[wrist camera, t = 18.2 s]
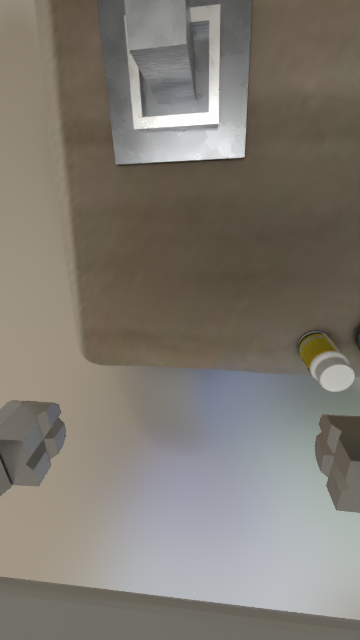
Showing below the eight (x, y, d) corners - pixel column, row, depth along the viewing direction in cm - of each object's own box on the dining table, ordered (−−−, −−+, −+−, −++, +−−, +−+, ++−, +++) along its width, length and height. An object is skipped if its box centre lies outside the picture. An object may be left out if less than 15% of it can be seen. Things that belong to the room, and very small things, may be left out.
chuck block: (252, -24, 26) (256, -49, 23) (243, 158, 32) (246, 155, 29) (100, -4, 28) (87, -26, 25) (118, 165, 34) (110, 162, 31)
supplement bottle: (290, 350, 42) (308, 385, 34) (308, 325, 40) (331, 355, 32) (318, 362, 42) (342, 399, 34) (337, 338, 40) (367, 371, 32)
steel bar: (194, 52, 28) (184, -42, 17) (195, 100, 30) (186, 44, 19) (156, 56, 28) (121, -33, 17) (158, 104, 30) (128, 50, 19)
